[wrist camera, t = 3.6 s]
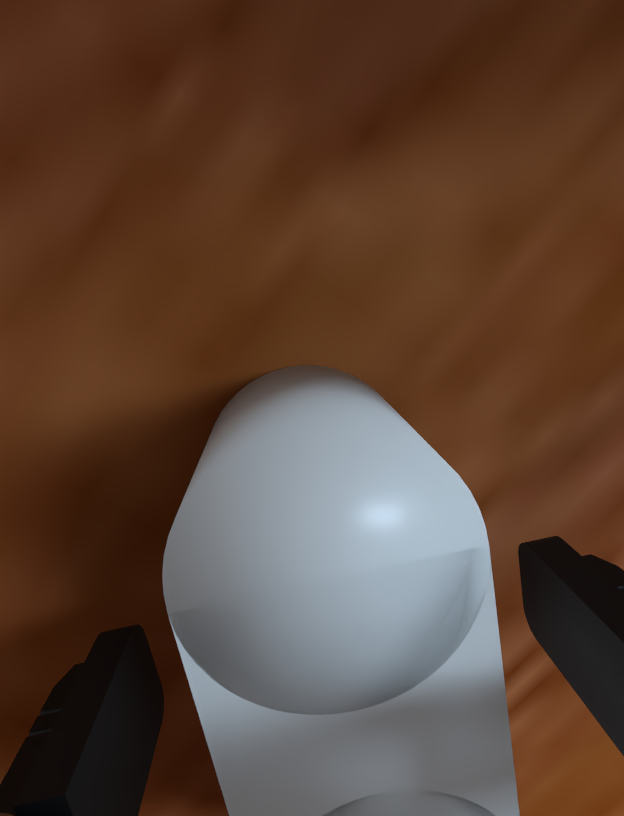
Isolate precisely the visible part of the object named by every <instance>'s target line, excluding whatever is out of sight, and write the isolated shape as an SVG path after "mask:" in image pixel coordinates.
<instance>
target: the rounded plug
mask: <svg viewBox="0 0 624 816" xmlns="http://www.w3.org/2000/svg"><path fill="white" fill-rule="evenodd" d="M162 580H163V594H164V599H165V604H166V608H167V613H168V616H169V620H170V623H171V626H172V629H173V633H174V636H175V639H176V643H177V646H178V649H179V652H180V656H181V659H182V662H183V666H184V669H185V672H186V675H187V679H188V682H189V685H190V689H191V692H192V695H193V698H194V702H195V705H196V708H197V712H198V715H199V718H200V721H201V725H202V728H203V731H204V735H205V738H206V741H207V744H208V748H209V751H210V754H211V758H212V761H213V764H214V767H215V771H216V774H217V777H218V781H219V784H220V787H221V791H222V794H223V797H224V800H225V804H226V807H227V810H228V814H229V816H520V815H519V806H518V797H517V788H516V780H515V771H514V762H513V753H512V744H511V735H510V727H509V718H508V709H507V700H506V691H505V682H504V674H503V665H502V656H501V647H500V638H499V629H498V621H497V612H496V603H495V594H494V585H493V577H492V568H491V559H490V550H489V543H488V537H487V532H486V527H485V524H484V521H483V518H482V515H481V512H480V509H479V507H478V505H477V503H476V501H475V499H474V497H473V495H472V493H471V492H470V490H469V489H468V487H467V486H466V484H465V483H464V482H463V480H462V479H461V478H460V476H459V475H458V474H457V473H456V472H455V471H454V470H453V469H452V468H451V467H450V466H449V465H448V463H447V462H446V461H445V460H444V459H443V458H442V457H441V456H440V455H439V454H438V453H437V452H436V451H435V450H434V449H433V448H432V447H431V446H430V445H429V444H428V443H427V442H426V441H425V440H424V439H423V438H422V437H421V436H420V435H419V434H418V433H417V432H416V431H415V430H414V429H413V428H412V427H411V426H410V425H409V424H408V423H407V422H406V421H405V420H404V419H403V418H402V417H401V416H400V415H399V414H398V413H397V412H396V411H395V410H394V409H393V408H392V407H391V406H390V405H389V404H388V403H387V402H386V401H385V400H384V399H383V398H382V397H381V396H380V395H379V394H378V393H377V392H376V391H375V390H374V389H373V388H372V387H370V386H369V385H368V384H366V383H365V382H364V381H362V380H360V379H358V378H357V377H355V376H353V375H351V374H348V373H346V372H344V371H341V370H337V369H334V368H330V367H324V366H316V365H300V366H293V367H286V368H283V369H279V370H275V371H272V372H270V373H268V374H265V375H263V376H261V377H259V378H257V379H256V380H254V381H252V382H250V383H249V384H248V385H246V386H245V387H244V388H242V389H241V390H240V391H239V392H238V393H237V394H236V395H235V396H234V397H233V398H232V399H231V400H230V401H229V402H228V403H227V405H226V406H225V407H224V409H223V410H222V411H221V413H220V415H219V417H218V418H217V420H216V422H215V424H214V427H213V429H212V431H211V434H210V436H209V439H208V441H207V443H206V446H205V448H204V450H203V453H202V455H201V458H200V460H199V462H198V465H197V467H196V470H195V472H194V474H193V477H192V479H191V481H190V484H189V486H188V489H187V491H186V493H185V496H184V498H183V501H182V503H181V505H180V508H179V510H178V512H177V515H176V517H175V520H174V522H173V525H172V528H171V530H170V533H169V535H168V539H167V544H166V548H165V552H164V558H163V571H162Z"/></svg>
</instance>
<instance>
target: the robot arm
mask: <svg viewBox="0 0 624 816" xmlns="http://www.w3.org/2000/svg"><path fill="white" fill-rule="evenodd" d="M518 554H519V565H520V575H521V586H522V596H523V606H524V611H525V615H526V619H527V622H528V624H529V627H530V629H531V631H532V633H533V635H534V636H535V638H536V639H537V641H538V642H539V644H540V645H541V646H542V648H543V649H544V650H545V652H546V653H547V654H548V656H549V657H550V658H551V660H552V661H553V662H554V664H555V665H556V666H557V668H558V669H559V670H560V672H561V673H562V674H563V676H564V677H565V678H566V680H567V681H568V682H569V684H570V685H571V686H572V688H573V689H574V690H575V692H576V693H577V694H578V696H579V697H580V698H581V700H582V701H583V702H584V704H585V705H586V706H587V708H588V709H589V710H590V712H591V713H592V714H593V716H594V717H595V718H596V720H597V721H598V722H599V724H600V725H601V727H602V728H603V729H604V731H605V732H606V733H607V735H608V736H609V737H610V739H611V740H612V741H613V743H614V744H615V745H616V747H617V748H618V749H619V751H620V752H621V753H622V755H623V756H624V571H623V570H622V569H621V568H619V567H618V566H616V565H614V564H612V563H610V562H607V561H605V560H603V559H600V558H598V557H596V556H593V555H591V554H590V555H586V556H581V555H580V554H579V553H577V552H576V551H575V550H574V549H573V548H572V547H571V546H569V545H568V544H567V543H566V542H565V541H564V540H563V539H561V538H560V537H558V536H553V537H548V538H544V539H539V540H534V541H530V542H525V543H521V544H520V546H519V550H518ZM163 711H164V699H163V690H162V685H161V682H160V679H159V676H158V673H157V669H156V666H155V663H154V660H153V657H152V654H151V651H150V648H149V644H148V641H147V638H146V635H145V632H144V630H143V628H142V627H141V626H140V625H133V626H129V627H124V628H119V629H115V630H110V631H105V632H102V633H100V634H99V635H98V637H97V639H96V641H95V643H94V645H93V647H92V649H91V651H90V653H89V655H88V657H87V659H86V661H85V663H81V664H76V665H74V666H73V667H72V669H71V670H70V671H69V672H68V673H67V674H66V675H65V676H64V677H63V678H62V679H61V680H60V681H59V682H58V683H57V684H56V685H55V686H54V688H53V689H52V691H51V693H50V695H49V697H48V699H47V700H46V702H45V704H44V706H43V708H42V710H41V715H40V716H38V717H37V719H36V721H35V722H34V724H33V726H32V728H31V730H30V732H29V733H30V735H29V737H26V739H25V741H24V743H23V744H22V746H21V748H20V750H19V752H18V754H17V755H16V757H15V759H14V761H13V763H12V765H11V766H10V768H9V770H8V772H7V774H6V775H5V777H4V779H3V781H2V783H1V785H0V816H138V814H139V810H140V806H141V802H142V798H143V794H144V790H145V786H146V782H147V778H148V774H149V770H150V767H151V763H152V759H153V755H154V751H155V747H156V743H157V739H158V735H159V731H160V727H161V723H162V719H163Z"/></svg>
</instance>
